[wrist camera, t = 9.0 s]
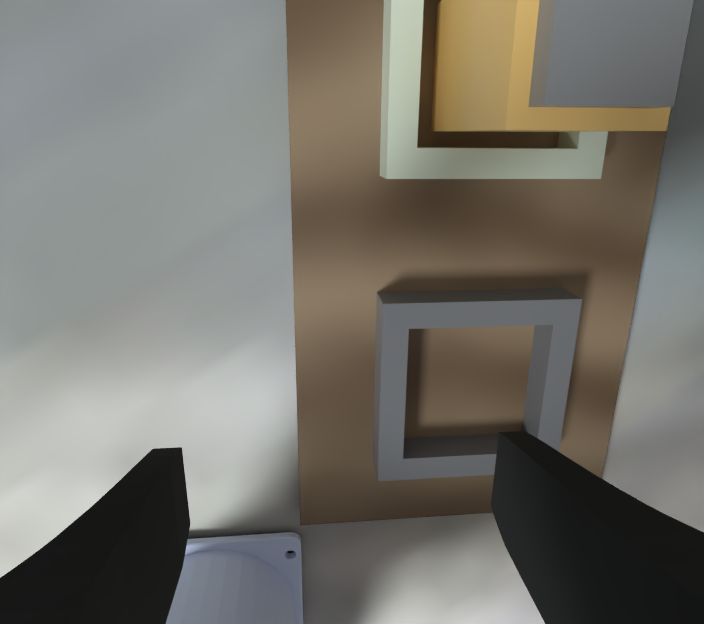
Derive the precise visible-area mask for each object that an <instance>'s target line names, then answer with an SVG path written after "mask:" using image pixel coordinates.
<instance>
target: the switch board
mask: <svg viewBox="0 0 704 624" xmlns="http://www.w3.org/2000/svg"><path fill="white" fill-rule="evenodd" d="M440 1H441V0H424V8H423V30H422V52H421V74H420V96H419V118H418V140H417V147H504V148H557V145H558V137H559V132H450V131H431V123H432V102H433V82H434V62H435V41H436V21H437V4H438V3H439V2H440ZM383 14H384V0H286V24H287V60H288V96H289V132H290V168H291V204H292V240H293V276H294V312H295V347H296V383H297V419H298V455H299V491H300V525H310V524H325V523H340V522H355V521H370V520H385V519H401V518H416V517H431V516H446V515H461V514H476V513H491V512H493V510H492V508H491V497H492V489H493V480H494V475H477V476H460V477H443V478H426V479H409V480H392V481H378V480H377V476H376V471H375V467H374V463H373V427H374V386H375V344H376V303H377V292H407V291H453V290H498V289H544V288H564V289H566V290H567V291H569V292H571V293H573V294H574V295H576V296H578V297H580V298H581V299H582V304H581V311H580V317H579V324H578V330H577V337H576V343H575V350H574V356H573V363H572V369H571V376H570V382H569V389H568V395H567V402H566V408H565V415H564V421H563V428H562V434H561V441H560V447H559V452H560V453H562V454H563V455H565V456H566V457H568V458H569V459H571V460H572V461H574V462H576V463H577V464H579V465H580V466H582V467H583V468H585V469H587V470H588V471H590V472H591V473H593V474H595V475H596V476H598V477H599V478H601V479H602V474H603V468H604V463H605V458H606V452H607V447H608V442H609V436H610V431H611V426H612V421H613V415H614V410H615V405H616V399H617V394H618V389H619V383H620V378H621V373H622V367H623V362H624V357H625V351H626V346H627V341H628V335H629V330H630V325H631V319H632V314H633V309H634V303H635V298H636V293H637V287H638V282H639V277H640V271H641V266H642V261H643V255H644V250H645V245H646V239H647V234H648V229H649V223H650V218H651V213H652V207H653V202H654V197H655V191H656V186H657V181H658V175H659V170H660V165H661V159H662V154H663V149H664V143H665V138H666V133H667V131H608V136H607V142H606V149H605V155H604V162H603V168H602V175H601V179H386V178H383V177H381V176H380V138H381V96H382V55H383ZM670 111H671V110H670ZM669 117H670V116H669ZM668 122H669V121H668ZM667 127H668V126H667ZM534 327H535V325H527V326H493V327H459V328H425V329H409V338H408V360H407V382H406V404H405V426H404V438H421V437H441V436H460V435H480V434H499V432H513V431H521V430H522V423H523V415H524V407H525V399H526V391H527V383H528V375H529V367H530V359H531V351H532V343H533V335H534Z"/></svg>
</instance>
